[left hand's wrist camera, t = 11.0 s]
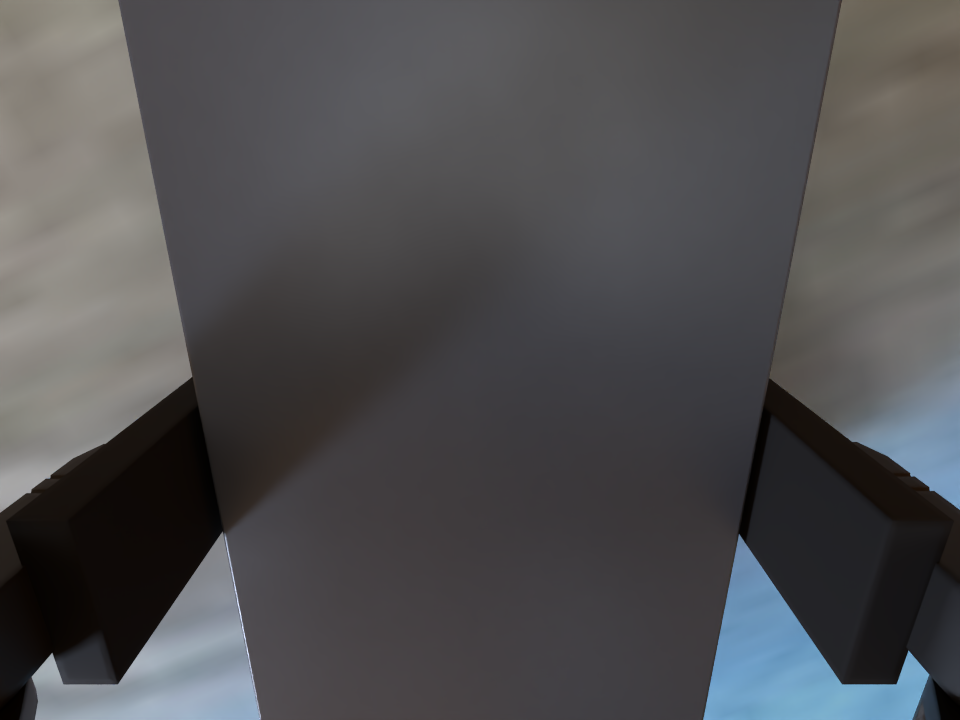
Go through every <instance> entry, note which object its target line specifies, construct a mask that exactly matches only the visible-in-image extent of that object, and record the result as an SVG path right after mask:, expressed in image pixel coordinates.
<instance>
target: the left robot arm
mask: <svg viewBox="0 0 960 720" xmlns="http://www.w3.org/2000/svg"><path fill="white" fill-rule="evenodd" d="M222 531H223V529H222V524H221V519H220V514H219V509H218V504H217V499H216V493H215V488H214V483H213V478H212V473H211V468H210V463H209V458H208V453H207V448H206V443H205V437H204V432H203V427H202V422H201V417H200V412H199V407H198V402H197V397H196V392H195V387H194V382H193V377H192V378H191V379H189V380H188V381H187V382H185V383H184V384H183V385H181V386H180V387H179V388H178V389H176V390H175V391H174V392H172V393H171V394H170V395H168V396H167V397H166V398H165V399H163V400H162V401H161V402H159V403H158V404H157V405H155V406H154V407H153V408H152V409H150V410H149V411H148V412H146V413H145V414H144V415H143V416H141V417H140V418H139V419H137V420H136V421H135V422H133V423H132V424H131V425H130V426H128V427H127V428H126V429H124V430H123V431H122V432H120V433H119V434H118V435H117V436H115V437H114V438H113V439H111V440H110V441H109V442H108V443H106V444H103V445H101V446H99V447H96V448H94V449H92V450H90V451H88V452H86V453H84V454H82V455H80V456H77V457H75V458H73V459H72V460H71V461H69V462H68V463H66V464H65V465H64V466H62V467H61V468H60V469H58V470H57V471H56V472H54V473H53V474H52V475H51V478H50V479H45V480H44V481H42V482H41V483H40V484H38V485H37V486H36V487H34V488H33V489H32V491H31V493H26V494H25V495H24V496H22V497H21V498H20V499H18V500H17V501H16V502H14V503H13V504H11V505H10V506H9V507H7V508H6V509H5V510H3V511H2V512H1V513H0V720H35V715H36V709H37V703H38V699H37V693H36V688H35V685H34V683H33V680H32V676H33V674H34V673H35V672H36V671H37V670H38V669H39V667H40V666H41V665H42V664H43V663H44V662H45V660H46V659H47V658H48V657H49V656H50V655H51V653H53V656H54V659H55V661H56V664H57V667H58V670H59V673H60V675H61V678H62V681H63V684H118V683H119V682H120V680H121V679H122V677H123V676H124V674H125V673H126V672H127V670H128V669H129V667H130V666H131V664H132V663H133V661H134V660H135V658H136V657H137V655H138V654H139V653H140V651H141V650H142V648H143V647H144V645H145V644H146V642H147V641H148V639H149V638H150V636H151V635H152V634H153V632H154V631H155V629H156V628H157V626H158V625H159V623H160V622H161V620H162V619H163V617H164V616H165V615H166V613H167V612H168V610H169V609H170V607H171V606H172V604H173V603H174V601H175V600H176V599H177V597H178V596H179V594H180V593H181V591H182V590H183V588H184V587H185V585H186V584H187V582H188V581H189V580H190V578H191V577H192V575H193V574H194V572H195V571H196V569H197V568H198V566H199V565H200V563H201V562H202V561H203V559H204V558H205V556H206V555H207V553H208V552H209V550H210V549H211V547H212V546H213V544H214V543H215V542H216V540H217V539H218V537H219V536H220V534H221V533H222ZM739 534H740V536H741V537H742V539H743V540H744V542H745V543H746V544H747V546H748V547H749V549H750V550H751V552H752V553H753V555H754V556H755V558H756V559H757V561H758V562H759V563H760V565H761V566H762V568H763V569H764V571H765V572H766V574H767V575H768V577H769V578H770V579H771V581H772V582H773V584H774V585H775V587H776V588H777V590H778V591H779V593H780V594H781V596H782V597H783V598H784V600H785V601H786V603H787V604H788V606H789V607H790V609H791V610H792V612H793V613H794V615H795V616H796V617H797V619H798V620H799V622H800V623H801V625H802V626H803V628H804V629H805V631H806V632H807V634H808V635H809V636H810V638H811V639H812V641H813V642H814V644H815V645H816V647H817V648H818V650H819V651H820V653H821V654H822V655H823V657H824V658H825V660H826V661H827V663H828V664H829V666H830V667H831V669H832V670H833V671H834V673H835V674H836V676H837V677H838V679H839V680H840V682H841V683H842V684H897V681H898V678H899V676H900V673H901V670H902V667H903V664H904V661H905V659H906V656H907V653H908V650H909V651H910V653H911V654H912V655H913V656H914V657H915V658H916V659H917V661H918V662H919V663H920V664H921V665H922V666H923V668H924V669H925V670H926V671H927V672H928V673H929V674H930V675H929V677H928V680H927V683H926V685H925V688H924V691H923V693H922V696H921V699H920V701H919V704H918V706H917V709H916V712H915V714H914V717H913V720H960V510H959V509H958V508H956V507H955V506H954V505H952V504H951V503H950V502H948V501H947V500H946V499H944V498H943V497H942V496H940V495H939V494H938V493H936V492H935V491H930V490H929V487H928V486H927V485H925V484H924V483H923V482H921V481H920V480H919V479H917V478H916V477H911V476H910V473H909V472H908V471H906V470H905V469H904V468H902V467H901V466H900V465H898V464H897V463H896V462H894V461H893V460H892V459H890V458H889V457H888V456H885V455H883V454H881V453H879V452H877V451H875V450H873V449H871V448H868V447H866V446H864V445H862V444H860V443H858V442H851V441H850V440H849V439H847V438H846V437H845V436H843V435H842V434H841V433H840V432H838V431H837V430H836V429H834V428H833V427H832V426H830V425H829V424H828V423H827V422H825V421H824V420H823V419H821V418H820V417H819V416H818V415H816V414H815V413H814V412H812V411H811V410H810V409H808V408H807V407H806V406H805V405H803V404H802V403H801V402H799V401H798V400H797V399H795V398H794V397H793V396H792V395H790V394H789V393H788V392H786V391H785V390H784V389H782V388H781V387H780V386H779V385H777V384H776V383H775V382H773V381H772V380H771V379H770V378H769V380H768V386H767V391H766V396H765V401H764V406H763V411H762V417H761V422H760V427H759V432H758V437H757V443H756V448H755V453H754V458H753V463H752V468H751V474H750V479H749V484H748V489H747V494H746V500H745V505H744V510H743V515H742V520H741V525H740V531H739Z"/></svg>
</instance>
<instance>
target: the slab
mask: <svg viewBox="0 0 960 720" xmlns="http://www.w3.org/2000/svg"><path fill="white" fill-rule="evenodd" d="M841 2H842V0H119V5H120V10H121V16H122V21H123V26H124V31H125V36H126V41H127V46H128V51H129V56H130V61H131V66H132V71H133V77H134V82H135V87H136V92H137V97H138V102H139V107H140V112H141V117H142V122H143V127H144V132H145V138H146V143H147V148H148V153H149V158H150V163H151V168H152V173H153V178H154V183H155V188H156V193H157V199H158V204H159V209H160V214H161V219H162V224H163V229H164V234H165V239H166V244H167V249H168V254H169V260H170V265H171V270H172V275H173V280H174V285H175V290H176V295H177V300H178V305H179V310H180V315H181V321H182V326H183V331H184V336H185V341H186V346H187V351H188V356H189V361H190V366H191V371H192V376H193V382H194V387H195V392H196V397H197V402H198V407H199V412H200V417H201V422H202V427H203V432H204V437H205V443H206V448H207V453H208V458H209V463H210V468H211V473H212V478H213V483H214V488H215V493H216V499H217V504H218V509H219V514H220V519H221V524H222V529H223V534H224V539H225V544H226V549H227V554H228V560H229V565H230V570H231V575H232V580H233V585H234V590H235V595H236V600H237V605H238V610H239V615H240V621H241V626H242V631H243V636H244V641H245V646H246V651H247V656H248V661H249V666H250V671H251V676H252V682H253V687H254V692H255V697H256V702H257V707H258V712H259V717H260V720H703V717H704V712H705V707H706V702H707V697H708V691H709V686H710V681H711V676H712V671H713V665H714V660H715V655H716V650H717V645H718V640H719V634H720V629H721V624H722V619H723V614H724V608H725V603H726V598H727V593H728V588H729V583H730V577H731V572H732V567H733V562H734V557H735V551H736V546H737V541H738V536H739V531H740V525H741V520H742V515H743V510H744V505H745V500H746V494H747V489H748V484H749V479H750V474H751V468H752V463H753V458H754V453H755V448H756V443H757V437H758V432H759V427H760V422H761V417H762V411H763V406H764V401H765V396H766V391H767V386H768V380H769V375H770V370H771V365H772V360H773V354H774V349H775V344H776V339H777V334H778V329H779V323H780V318H781V313H782V308H783V303H784V297H785V292H786V287H787V282H788V277H789V271H790V266H791V261H792V256H793V251H794V246H795V240H796V235H797V230H798V225H799V220H800V214H801V209H802V204H803V199H804V194H805V189H806V183H807V178H808V173H809V168H810V163H811V157H812V152H813V147H814V142H815V137H816V132H817V126H818V121H819V116H820V111H821V106H822V100H823V95H824V90H825V85H826V80H827V74H828V69H829V64H830V59H831V54H832V49H833V43H834V38H835V33H836V28H837V23H838V17H839V12H840V7H841Z"/></svg>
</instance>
